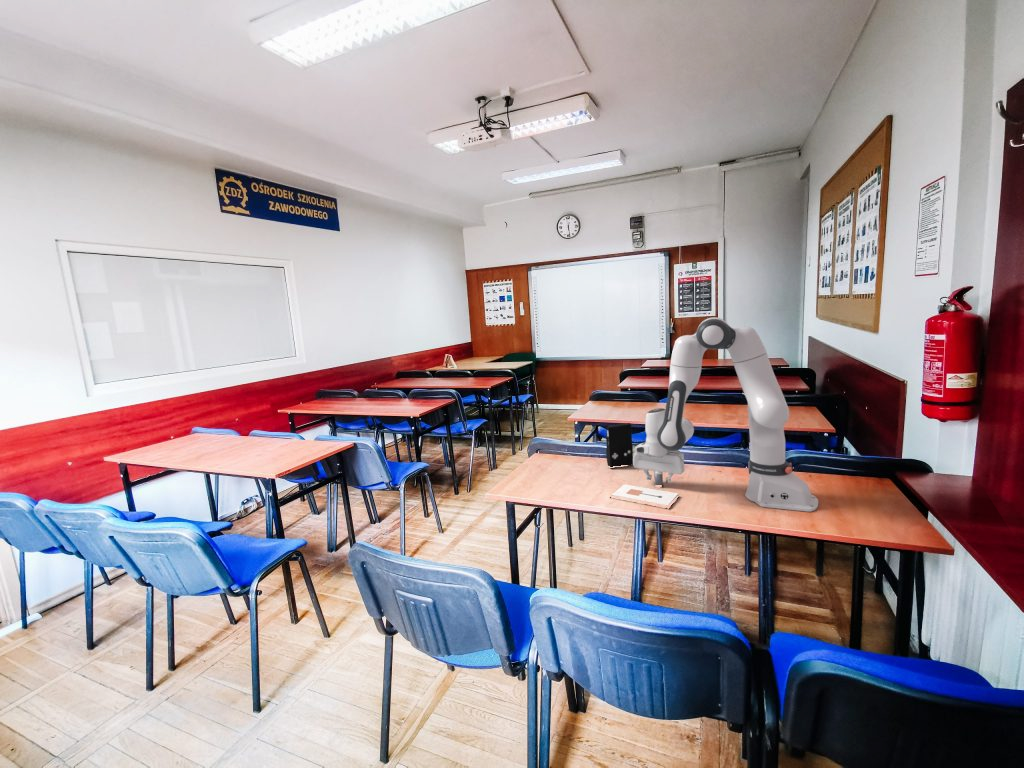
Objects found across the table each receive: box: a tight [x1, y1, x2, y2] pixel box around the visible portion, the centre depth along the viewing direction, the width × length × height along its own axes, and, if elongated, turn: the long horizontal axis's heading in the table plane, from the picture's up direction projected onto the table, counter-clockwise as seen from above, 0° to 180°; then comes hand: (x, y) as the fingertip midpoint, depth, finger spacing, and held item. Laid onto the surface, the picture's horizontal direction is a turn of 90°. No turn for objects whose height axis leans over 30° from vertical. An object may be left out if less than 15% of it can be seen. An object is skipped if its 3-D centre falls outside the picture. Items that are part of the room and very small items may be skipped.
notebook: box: [611, 483, 679, 506], centre depth 171 cm, size 23×13×1 cm, turn 52°
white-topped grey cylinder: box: [653, 471, 664, 486], centre depth 180 cm, size 3×3×7 cm
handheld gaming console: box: [605, 422, 634, 467], centre depth 207 cm, size 12×5×20 cm, turn 105°
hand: (658, 480), depth 181 cm, fingers open, 6 cm apart
